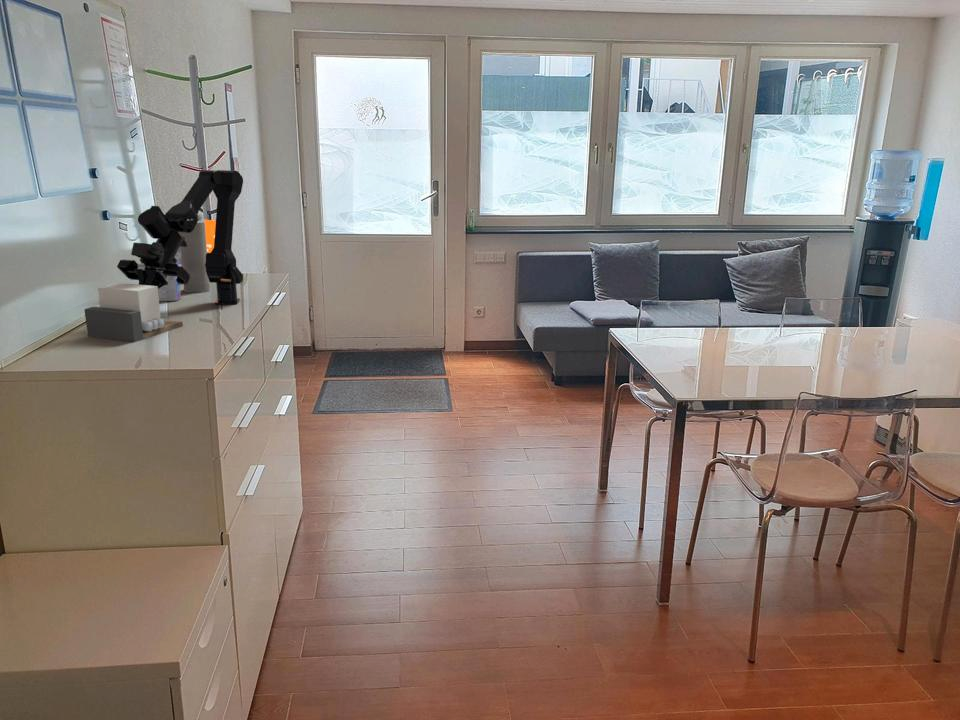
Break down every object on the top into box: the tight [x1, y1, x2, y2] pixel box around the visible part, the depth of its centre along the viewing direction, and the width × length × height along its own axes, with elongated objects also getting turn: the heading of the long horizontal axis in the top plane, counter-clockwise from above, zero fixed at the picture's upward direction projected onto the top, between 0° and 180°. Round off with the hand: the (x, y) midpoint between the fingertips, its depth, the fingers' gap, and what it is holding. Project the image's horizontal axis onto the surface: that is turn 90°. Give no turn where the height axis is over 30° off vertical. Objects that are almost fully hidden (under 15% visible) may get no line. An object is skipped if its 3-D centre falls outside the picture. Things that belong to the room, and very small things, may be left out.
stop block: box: [83, 306, 144, 343], centre depth 185 cm, size 3×14×7 cm, turn 73°
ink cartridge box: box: [140, 259, 182, 302], centre depth 229 cm, size 10×6×14 cm, turn 101°
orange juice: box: [203, 219, 216, 253], centre depth 270 cm, size 8×9×20 cm
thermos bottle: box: [179, 210, 211, 294], centre depth 242 cm, size 8×8×28 cm
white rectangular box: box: [97, 282, 165, 331], centre depth 190 cm, size 7×14×10 cm, turn 73°
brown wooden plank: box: [142, 319, 184, 340], centre depth 193 cm, size 18×14×1 cm
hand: (140, 298), depth 193 cm, fingers closed
